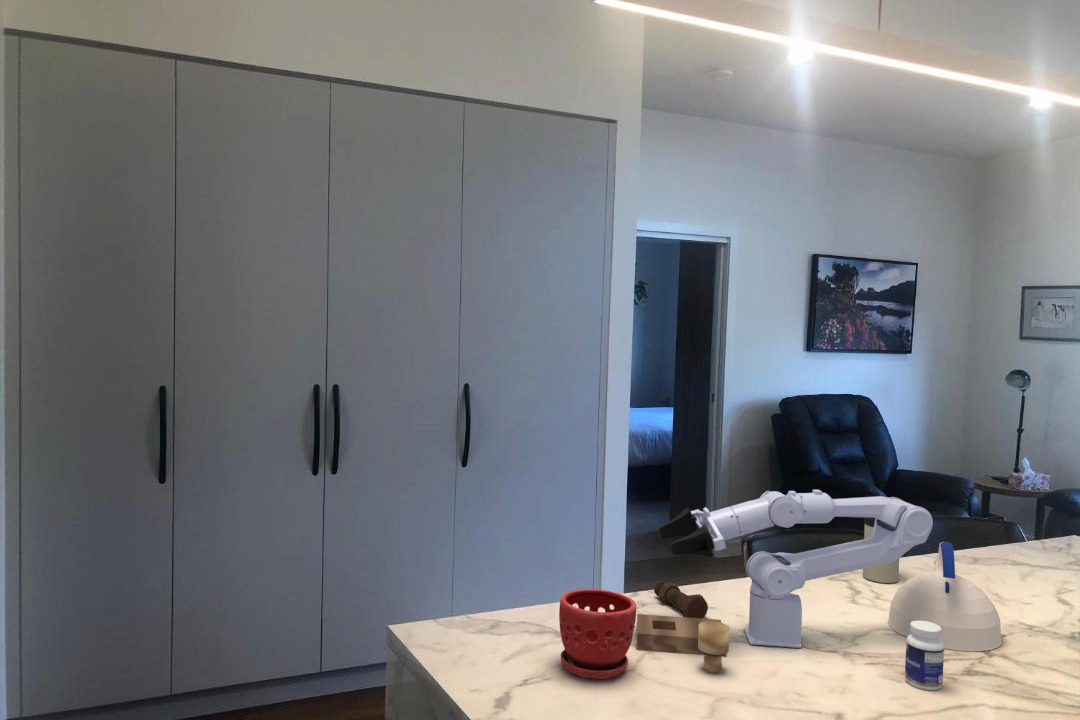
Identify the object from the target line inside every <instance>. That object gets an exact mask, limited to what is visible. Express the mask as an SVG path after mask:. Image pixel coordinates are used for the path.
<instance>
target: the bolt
mask: <svg viewBox="0 0 1080 720" xmlns="http://www.w3.org/2000/svg"><path fill="white" fill-rule="evenodd" d="M653 591H654V595H656V596H657V597H658V598H660V601H661V603H662V604H664V606H665V605H666V606H674V607H676V608H678V609H679V610H681V612H682V614H683V616H684V617H688V618H702V619H705V617H706V615H707V613H708V610H709V605H708V602H707V601H706V599H705V598H704V596H703V594H699V593H698V594H697V593H696V594H691V595H690V594H686V593H684V592H682V591H681V589H680V588H679V586H678V584H676V583H675V582H674V583H673V582H672V583H671V582H669V583H665V582H657V583H656V584H655V586H654V587H653Z"/></svg>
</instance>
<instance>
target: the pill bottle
mask: <svg viewBox="0 0 1080 720" xmlns="http://www.w3.org/2000/svg"><path fill="white" fill-rule="evenodd" d="M910 631H911V632H912V634H910V635H909V636H908V637H906V642H905V643H906V644H905V663H904V664H905V665H904V668H905V669H904V679H905V681H906V682H907V683H908V684H909V685H910V686H912V687H915V688H918V689H921V690H927V691H938V690H940V689H941V688H943V684H944V681H943V680H944V660H945V659H944V656H945V649H944V644H943V642H942V641H941V640H940V639H939V637H941V627H940V626H939V625H937V624H934V623H931V622H927V621H912V622H911V624H910Z"/></svg>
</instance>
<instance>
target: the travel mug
mask: <svg viewBox="0 0 1080 720" xmlns="http://www.w3.org/2000/svg"><path fill="white" fill-rule="evenodd" d="M875 519H876V518H872V517H864V530H863V531H864V532H863V539H867V538H871V536H872V534H873V529H874V524H875ZM899 572H900V557H899V558H898V559H897V560H896V561H894V562H891V563H887V564H882V565H878V566H873V567H868V568H864V569H862V577H863V578H864V579H866V580H868V581H870V580H871V582H873V581H875V582H874V583H877V582H879V584H887V583H889V584H895V583H897V582H899V575H900V574H899Z"/></svg>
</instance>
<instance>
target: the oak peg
mask: <svg viewBox="0 0 1080 720" xmlns="http://www.w3.org/2000/svg"><path fill="white" fill-rule="evenodd" d="M698 648H699V651H700V652H701V653H703V654H704V655H703V670H704V671H705V672H707V673H710V674H719V673H721V672H722V667H723V666H722V664H723V663H722V662H723V657H725V656H724V655H726V656H727V654H728V653H729V651H730V626H729V625H727V624H725V623H724V622H722V621H721V622H716V621H704V622H701V623H699V630H698Z"/></svg>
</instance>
